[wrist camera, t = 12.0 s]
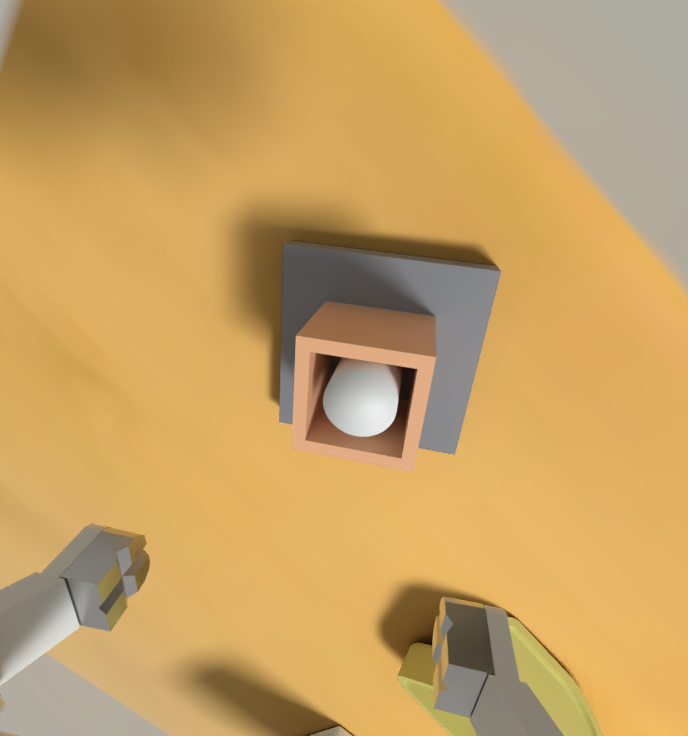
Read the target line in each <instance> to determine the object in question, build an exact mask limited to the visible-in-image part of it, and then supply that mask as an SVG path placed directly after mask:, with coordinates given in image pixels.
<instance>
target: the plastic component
mask: <svg viewBox="0 0 688 736" xmlns="http://www.w3.org/2000/svg"><path fill="white" fill-rule="evenodd" d="M508 622H509V627H510V632H511V637H512V643H513V648H514V653H515V658H516V663H517V668H518V673H519V678H520V681H521V682H525V683H527V684H528V686H529V687H530V688H531V690H532V691H533V693H534V694H535V695H536V697H537V698H538V700H539V701H540V702H541V704H542V705H543V707H544V708H545V709H546V711H547V712H548V714H549V715H550V716H551V718H552V719H553V721H554V722H555V724H556V725H557V726H558V728H559V729H560V731H561V732H562V733H563V735H564V736H603V735H602V732H601V730H600V727H599V725H598V722H597V720H596V717H595V715H594V713H593V711H592V709H591V707H590V705H589V703H588V701H587V700H586V698H585V696H584V695H583V693H582V691H581V690H580V688H579V687H578V686H577V684H576V683H575V681H574V680H573V679H572V677H571V676H570V675H569V674H568V673H567V672H566V671H565V670H564V669H563V668H562V667H561V666H560V665H559V663H558V662H557V661H556V660H555V659H554V658H553V657H552V656H551V655H550V654H549V653H548V652H547V651H546V649H545V648H544V647H543V646H542V645H541V644H540V643H539V642H538V641H537V640H536V639H535V638H534V637H533V635H532V634H531V633H530V632H529V631H528V630H527V629H526V628H525V627H524V626H523V625H522V624H521V623H520V621H519V620H517V619H515V618H512V617H508ZM436 665H437V664H436V663H435V661H434V659H433V657H432V645H428V644H423V643H414V644H412V645H411V646H410V648H409V650H408V653H407V655H406V657H405V660H404V662H403V664H402V667H401V669H400V671H399V674H398V676H397V680H398V682H399V683H400V684H401V686H402V687H403V688H404V689H405V690H406V691H407V692H408V693H409V694H410V695H411V696H412V697H413V698H414V699H415V700H416V701H417V702H418V703H419V704H420V705H421V706H422V707H423V708H424V709H425V710H426V711H427V712H428V713H429V714H430V715H431V716H432V717H433V718H434V719H435V720H436V721H437V722H438V723H439V724H440V725H441V726H442V727H443V728H444V729H445V730H446V731H447V732H448V733H449V734H450V735H451V736H477V734H476V732H475V730H474V728H473V726H472V724H471V722H470V719H471V718H467V717H464V716H460V715H456V714H453V713H449V712H445V711H441V710H438V709H434V695H433V675H434V672H435V669H436Z"/></svg>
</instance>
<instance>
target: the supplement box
mask: <svg viewBox="0 0 688 736" xmlns="http://www.w3.org/2000/svg"><path fill="white" fill-rule="evenodd" d="M309 736H352V735H351V734H350V733H348V732H347V731H346V730H344V729H343V728H342V727H340V726H337V727H334V728H331V729H328V730H325V731H322V732H319V733H316V734H313V735H309Z"/></svg>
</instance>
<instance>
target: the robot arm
mask: <svg viewBox="0 0 688 736" xmlns="http://www.w3.org/2000/svg"><path fill="white" fill-rule="evenodd" d="M146 544H147V543H146V539H145V535H141V534H136V533H132V532H127V531H123V530H119V529H114V528H110V527H106V526H101V525H96V524H90V525H88V526H86V527H85V528H84V529H83V530H82V531H81V532H80V533H79V534H78V535H77V536H76V537H75V538H74V539H73V540H72V541H71V542H70V543H69V544H68V545H67V546H66V547H65V549H64V550H63V551H62V552H61V553H60V554H59V555H58V556H57V557H56V558H55V559H54V560H53V561H52V562H51V563H50V564H49V565H48V566H47V567H46V568H45V569H44V570H43V572H42V573H37V572H35V573H33V574H31V575H29V576H27V577H25V578H23V579H21V580H19V581H17V582H15V583H13V584H11V585H9V586H7V587H5V588H3V589H1V590H0V685H1V684H3V683H4V682H6V681H7V680H8V679H10V678H11V677H12V676H14V675H15V674H17V673H18V672H19V671H20V670H22V669H23V668H25V667H26V666H28V665H29V664H30V663H32V662H33V661H34V660H36V659H37V658H39V657H40V656H41V655H43V654H44V653H45V652H47V651H48V650H50V649H51V648H52V647H54V646H55V645H56V644H58V643H59V642H61V641H62V640H63V639H65V638H66V637H67V636H69V635H70V634H72V633H73V632H74V631H76V630H77V629H78V628H80V625H82V626H87V627H92V628H97V629H102V630H106V631H111V630H112V629H113V627H114V626H115V624H116V623H117V621H118V620H119V618H120V617H121V615H122V614H123V613H124V611H125V610H126V608H127V598H128V597H130V596H131V595H133V594H134V593H136V592H138V590H139V589H140V587H141V586H142V584H143V583H144V581H145V579H146V576H147V573H148V571H149V564H150V560H149V555H148V554H147V553H146V552H145V551H144V549H143V548H144V547H145V545H146ZM439 607H440V615H438V616H436V620H435V624H434V630H433V642H432V657H433V659H434V661H435V663H436V664H437V665H436V669H435V672H434V675H433V695H434V709H438V710H441V711H445V712H449V713H453V714H456V715H460V716H464V717H467V718H471V719H470V722H471V724H472V726H473V728H474V730H475V732H476V734H477V736H564V735H563V733H562V732H561V731H560V729H559V728H558V726H557V725H556V724H555V722H554V721H553V719H552V718H551V716H550V715H549V714H548V712H547V711H546V709H545V708H544V707H543V705H542V704H541V702H540V701H539V700H538V698H537V697H536V695H535V694H534V693H533V691H532V690H531V688H530V687H529V686H528V684H527V683H525V682H521V681H520V678H519V673H518V668H517V663H516V658H515V653H514V648H513V643H512V637H511V632H510V627H509V622H508V617H507V613H506V612H505V610H504V609H503V608H498V607H493V606H487V605H482V604H481V603H476V602H470V601H465V600H460V599H455V598H449V597H444V596H443V597H442V599H441V602H440V605H439ZM4 706H5V703H4V701H3V699H2V697H1V695H0V715H1V714H2V712H3V711H4ZM0 736H18V735H14V734H11V733H7V732H3V731H0Z"/></svg>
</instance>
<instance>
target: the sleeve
mask: <svg viewBox="0 0 688 736" xmlns="http://www.w3.org/2000/svg"><path fill="white" fill-rule="evenodd" d="M333 356H339V357H345V358H351V359H358V360H364V361H370V362H377V363H383V364H389V365H395V366H402V367H408V368H414V370H413V375H412V381H411V387H410V392H409V398H408V401H406V400H400V399H399V400H398V406H397V412H396V416H395V419H394V421H393V422H392V424H391V425H390V426H389V427H388V428H387V429H386V430H384V431H383V432H381V433H379V434H377V435H374V436H368V437H359V436H353V435H350V434H347V433H345V432H343V431H341V430H340V429H338V428H337V427H336V426H334V425H333V424H332V422H331V421H330V420H329V418H328V417H327V415H326V413H325V410H324V406H323V396H324V392H325V389H326V387H327V385H328V383H329V381H330V379H331V378H332V367H333ZM435 362H436V316H430V315H423V314H416V313H409V312H402V311H395V310H388V309H380V308H373V307H366V306H359V305H352V304H345V303H338V302H331V301H326V302H325V303H324V304H323V305H322V306H321V307H320V308H319V310H318V311H317V312H316V313H315V314H314V315H313V317H312V318H311V319H310V320H309V321H308V322H307V323H306V325H305V326H304V327H303V328H302V329H301V330H300V331H299V333H298V334H297V335H296V346H295V373H294V401H293V428H292V449H295V450H300V451H306V452H311V453H316V454H321V455H326V456H331V457H337V458H342V459H347V460H352V461H357V462H362V463H368V464H373V465H378V466H383V467H388V468H393V469H399V470H404V471H409V472H414V467H415V462H416V457H417V452H418V447H419V442H420V437H421V432H422V427H423V422H424V417H425V412H426V407H427V402H428V397H429V392H430V387H431V382H432V377H433V372H434V367H435Z"/></svg>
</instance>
